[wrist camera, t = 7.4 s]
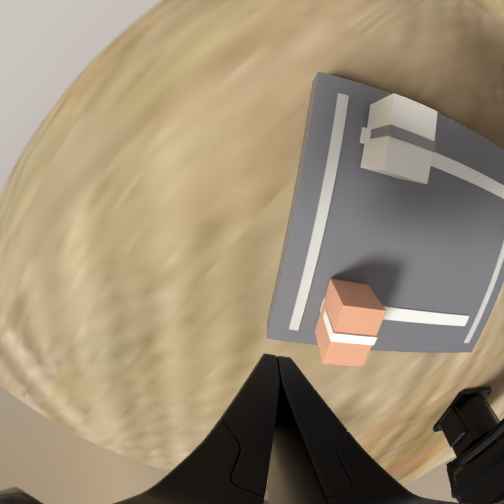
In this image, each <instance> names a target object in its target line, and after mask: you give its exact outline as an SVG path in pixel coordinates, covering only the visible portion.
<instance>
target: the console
mask: <svg viewBox="0 0 504 504" xmlns="http://www.w3.org/2000/svg"><path fill="white" fill-rule="evenodd" d="M391 94H392V93H389V92H386V91H383V90H380V89H378V88H375V87H371V86H368V85H365V84H362V83H359V82H355V81H352V80H348V79H345V78H341V77H337V76H334V75H330V74H325V73H321V72H318V73H317V75H316V77H315V79H314V80H313V85H312V91H311V97H310V104H309V110H308V116H307V122H306V128H305V134H304V140H303V145H302V151H301V157H300V162H299V168H298V173H297V179H296V184H295V190H294V195H293V200H292V206H291V211H290V216H289V221H288V226H287V231H286V236H285V241H284V246H283V251H282V256H281V261H280V265H279V270H278V275H277V280H276V284H275V289H274V293H273V298H272V303H271V307H270V312H269V316H268V321H267V338H268V339H274V340H281V341H289V342H296V343H304V344H313V345H318V343H317V339H316V334H315V328H316V325H317V322H318V319H319V316H320V312H321V309H322V306H323V302H324V299H325V296H326V292H327V289H328V285H329V282H330V279H336V280H343V281H349V282H355V283H361V284H368V286H369V287H370V288H371V290H372V291H373V293H374V294H375V295H376V297H377V298H378V300H379V301H380V302H381V304H382V305H383V307H384V308H385V309H386V313H385V316H384V318H383V321H382V323H381V326H380V328H379V330H378V333H377V335H376V336H377V339H376V342H375V344H374V345H372V347H371V349H370V350H381V351H400V352H472V350H473V348H474V346H475V344H476V342H477V340H478V338H479V337H480V335H481V333H482V330H483V328H484V326H485V324H486V322H487V320H488V318H489V316H490V313H491V311H492V309H493V306H494V304H495V302H496V299H497V297H498V294H499V292H500V289H501V286H502V284H503V281H504V149H503V148H501V147H500V146H498V145H496V144H495V143H493V142H492V141H490V140H488V139H487V138H485V137H483V136H482V135H480V134H478V133H476V132H475V131H473V130H471V129H469V128H467V127H465V126H464V125H462V124H460V123H458V122H456V121H454V120H452V119H450V118H448V117H446V116H444V115H442V114H440V113H438V112H437V123H436V132H435V140H434V141H435V142H436V147H435V152H433V154H432V161H431V167H430V172H429V178H428V183H427V184H424V183H419V182H414V181H409V180H403V179H398V178H395V177H392V176H388V175H385V174H382V173H378V172H375V171H371V170H367V169H364V168H360V166H361V161H362V155H363V150H364V144H365V138H366V131H367V125H368V118H369V110H370V105H371V104H373V103H375V102H377V101H379V100H381V99H383V98H385V97H387V96H389V95H391Z"/></svg>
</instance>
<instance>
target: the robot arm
mask: <svg viewBox="0 0 504 504" xmlns="http://www.w3.org/2000/svg"><path fill="white" fill-rule="evenodd" d="M491 391H492V389H491V388H490V387H489V388H484V389H478V390H472V391H465V392H461V393H460V394H458V396H457V397H456V399H455V400H454V401H453V403H452V404H451V405H450V407H449V408H448V410H447V411H446V412H445V414H444V415H443V416H442V417H441V419H440V420H439V421H438V423H437V424H436V425H435V426H434V427H433V431H434V432H437V431H443V433H444V435H445V437H446V439H447V441H448V443H449V445H450V447H452V448H453V450H454V452H455V455H456V457H457V458H456V459H454V460H453V461H450V462H449V463H448V464H447V472H448V476H449V481H450V485H451V495H452V498H456V499H457V501H458V502H459V503H454V502H445V501H439V500H432V499H427V498H422V497H419V496H417V495H415V494H412V493H411V492H410V491H408V490H407V489H405V488H404V487H403V486H402V485H401V484H400V483H398V482H397V481H396V480H395V479H394V478H393V477H392V476H391V475H390V474H389V473H387V472H386V471H385V470H384V469H383V468H382V467H381V466H380V465H379V464H378V463H377V462H376V461H375V460H374V459H373V458H372V457H371V456H370V455H369V454H368V453H367V452H366V451H365V450H364V449H363V448H362V447H361V446H360V444H359V443H358V442H357V441H356V440H355V439H354V437H353V436H352V435H351V434H350V433H349V432H347V429H346V428H345V427H344V425H343V424H342V423H341V422H340V420H339V419H338V418H337V417H336V415H335V414H334V413H333V412H332V410H331V409H330V408H329V407H328V405H327V404H326V403H325V401H324V400H323V399H322V398H321V396H320V395H319V394H318V393H317V391H316V390H315V389H314V387H313V386H312V385H311V384H310V382H309V381H308V380H307V378H306V377H305V376H304V374H303V373H302V372H301V371H300V369H299V368H298V367H297V365H296V364H295V363H294V361H293V360H292V359H291V358H290V357H284V356H278V357H277V356H275V355H271V354H263V355H262V357H261V358H260V360H259V361H258V363H257V365H256V366H255V368H254V369H253V371H252V372H251V374H250V375H249V377H248V378H247V380H246V381H245V383H244V384H243V386H242V387H241V389H240V390H239V392H238V393H237V395H236V396H235V398H234V399H233V401H232V402H231V404H230V405H229V407H228V408H227V410H226V411H225V412H224V414H223V415H222V417H221V418H220V420H219V421H218V422H217V424H216V425H215V426H214V428H213V429H212V430H211V432H210V433H209V434H208V435H207V437H206V438H205V439H204V440H203V441H202V443H201V444H200V445H199V446H198V447H197V448H196V449H195V450H194V451H193V452H192V453H191V454H190V455H189V456H188V457H187V458H185V459H184V460H183V461H182V462H181V463H180V464H179V465H178V466H177V467H175V468H174V469H173V470H172V471H171V472H170V473H169V474H168V475H166V476H165V477H164V478H163V479H162V480H161V481H159V482H158V483H157V484H155V485H154V486H152V487H151V488H150V489H148V490H146V491H144V492H143V493H141V494H138V495H136V496H133V497H130V498H128V499H125V500H122V501H119V502H116V503H113V504H263V501H264V496H265V490H266V484H267V477H268V499H269V504H504V419H503V420H501V421H499V419H498V417H497V416H496V414H495V413H494V411H493V410H492V408H491V407H490V405H489V404H488V402H487V401H486V399H487V397H488V396H489V394H490V393H491ZM0 504H43V503H42V502H40V501H39V500H37V499H35V498H34V497H32V496H30V495H29V494H28V493H26V492H24V491H23V490H21V489H19V488H17V487H11V488H8V489H5V490H2V491H0Z"/></svg>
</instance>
